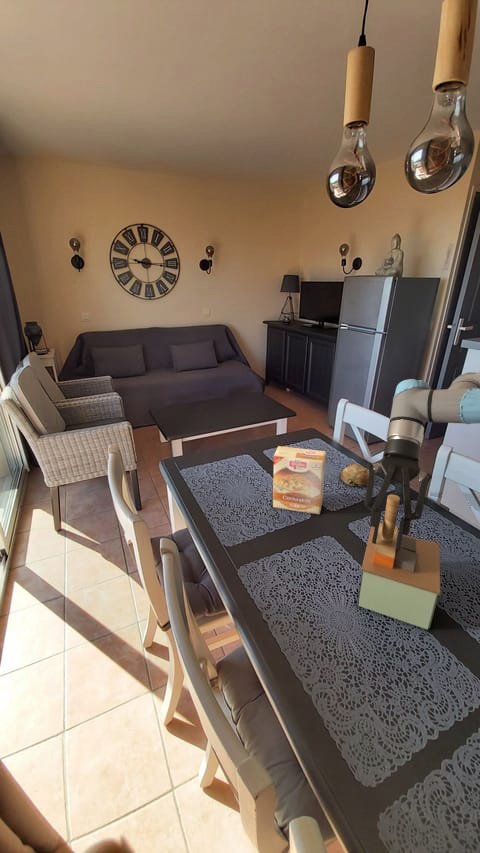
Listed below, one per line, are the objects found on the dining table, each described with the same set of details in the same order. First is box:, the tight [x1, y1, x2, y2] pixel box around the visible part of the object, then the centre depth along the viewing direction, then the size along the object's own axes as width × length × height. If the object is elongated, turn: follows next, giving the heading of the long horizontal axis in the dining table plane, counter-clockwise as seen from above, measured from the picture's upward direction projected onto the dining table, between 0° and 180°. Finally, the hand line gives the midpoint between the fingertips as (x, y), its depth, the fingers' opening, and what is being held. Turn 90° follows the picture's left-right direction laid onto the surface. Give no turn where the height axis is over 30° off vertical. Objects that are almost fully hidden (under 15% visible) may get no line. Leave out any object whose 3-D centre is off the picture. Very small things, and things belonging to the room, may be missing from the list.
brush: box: [373, 494, 401, 569], centre depth 78 cm, size 10×4×14 cm, turn 155°
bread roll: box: [340, 463, 369, 488], centre depth 128 cm, size 10×10×8 cm
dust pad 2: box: [393, 548, 418, 573], centre depth 77 cm, size 4×4×2 cm
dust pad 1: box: [395, 535, 416, 553], centre depth 80 cm, size 4×4×2 cm
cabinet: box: [358, 526, 441, 630], centre depth 81 cm, size 16×15×12 cm
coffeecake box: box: [272, 445, 327, 515], centre depth 113 cm, size 15×7×20 cm, turn 73°
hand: (385, 546), depth 76 cm, fingers closed on brush, 4 cm apart
